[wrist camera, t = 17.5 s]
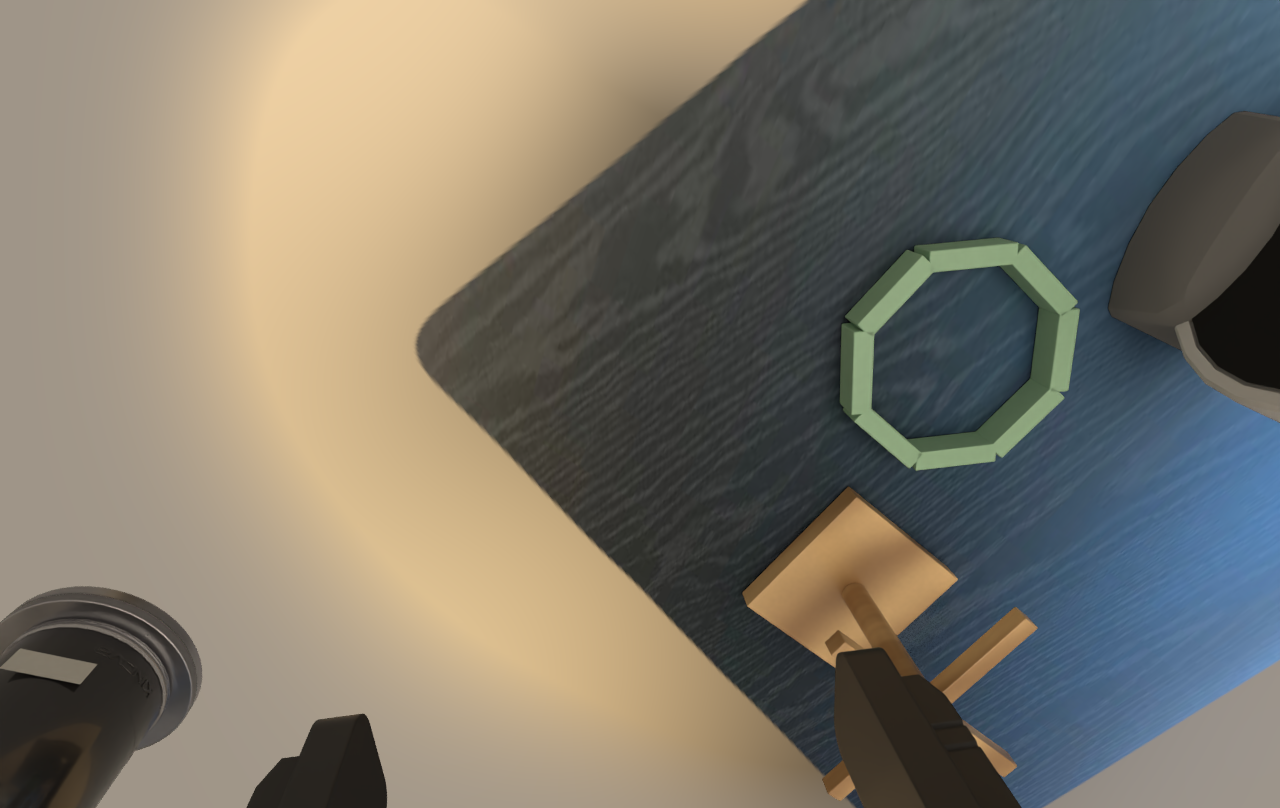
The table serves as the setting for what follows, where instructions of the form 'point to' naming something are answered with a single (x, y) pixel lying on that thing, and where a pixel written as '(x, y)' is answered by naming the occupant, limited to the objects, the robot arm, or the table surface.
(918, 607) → the peg stand
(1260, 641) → the table surface
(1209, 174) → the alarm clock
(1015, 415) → the hoop
